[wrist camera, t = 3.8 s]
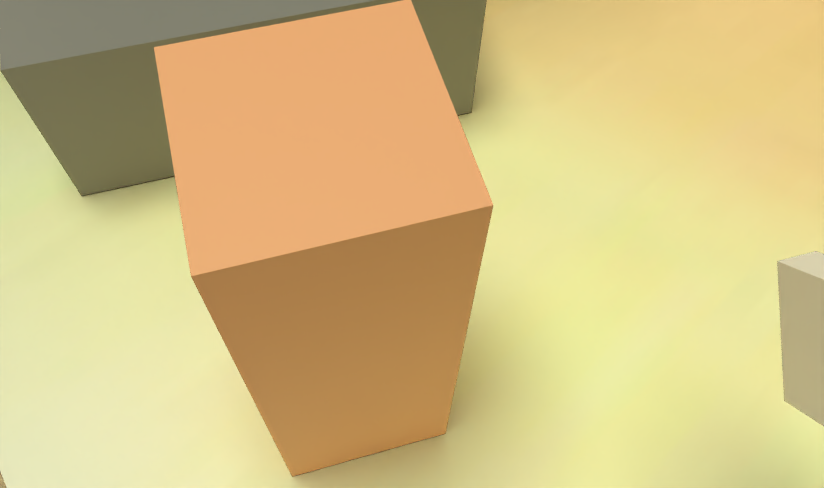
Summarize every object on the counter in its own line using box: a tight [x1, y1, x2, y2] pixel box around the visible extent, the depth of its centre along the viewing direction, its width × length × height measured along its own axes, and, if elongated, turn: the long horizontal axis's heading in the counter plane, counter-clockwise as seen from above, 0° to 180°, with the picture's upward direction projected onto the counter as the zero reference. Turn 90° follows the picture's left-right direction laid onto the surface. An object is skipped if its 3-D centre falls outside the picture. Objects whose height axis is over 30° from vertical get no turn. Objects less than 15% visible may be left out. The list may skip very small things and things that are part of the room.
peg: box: [154, 0, 493, 477], centre depth 17 cm, size 4×4×12 cm
